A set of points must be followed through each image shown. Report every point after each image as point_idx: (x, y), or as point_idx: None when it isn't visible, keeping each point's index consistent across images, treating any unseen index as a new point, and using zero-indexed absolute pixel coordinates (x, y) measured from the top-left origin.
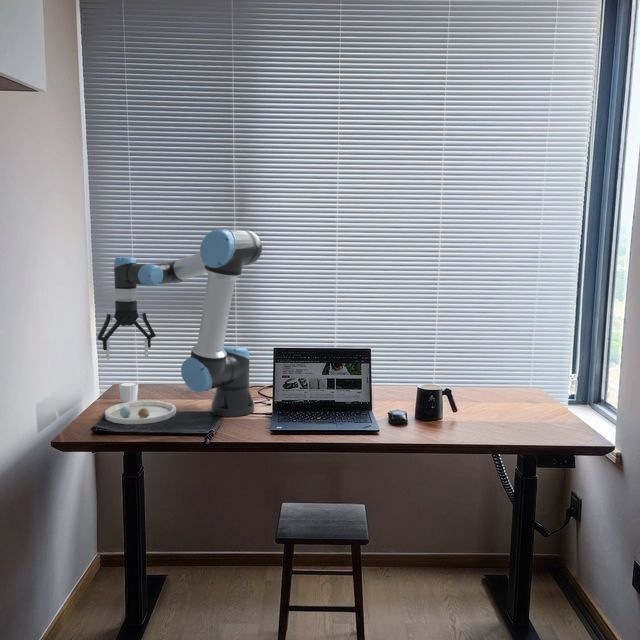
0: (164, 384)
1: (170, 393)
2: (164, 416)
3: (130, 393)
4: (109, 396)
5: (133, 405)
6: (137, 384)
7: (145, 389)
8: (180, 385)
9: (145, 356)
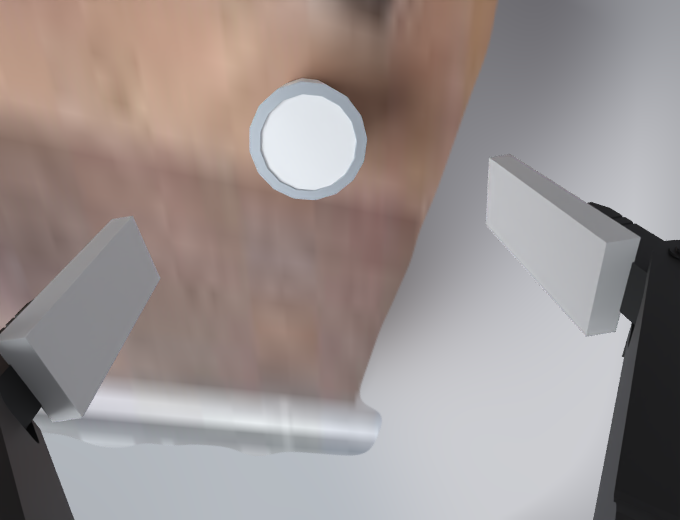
0: (178, 380)
1: None
2: None
3: (296, 81)
4: (394, 248)
5: None
6: (252, 130)
7: (248, 325)
8: None
9: (143, 242)
